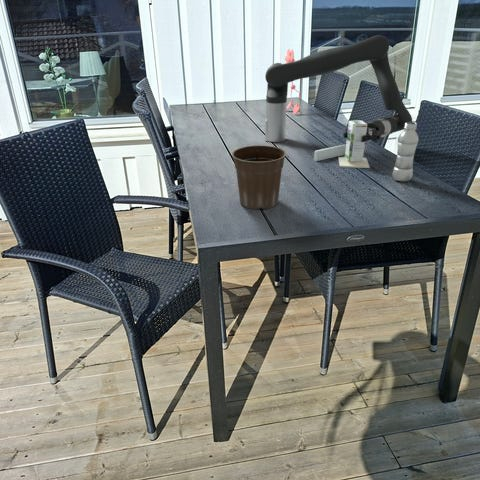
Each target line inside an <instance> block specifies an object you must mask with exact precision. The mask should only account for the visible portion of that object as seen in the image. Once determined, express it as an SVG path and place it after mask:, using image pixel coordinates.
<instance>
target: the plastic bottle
mask: <svg viewBox="0 0 480 480" xmlns="http://www.w3.org/2000/svg"><path fill="white" fill-rule="evenodd" d="M417 126H418V123H417V122H414V121H412V122H406V123H405V126H404V130H402V132H401V133H400V134H399V135H398V137H397V153H396V160H395V164H394V167H393V169H392V177H393V180H395V181H397V182H410V180H411V179H412V178H413V176H414V173H413V172H414V170H413V167H414V159H415V158H414V157H415V154H416V149H417V146H418V143H419V136H418V133H417V132H416V130H417Z"/></svg>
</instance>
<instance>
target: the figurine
mask: <svg viewBox="0 0 480 480" xmlns="http://www.w3.org/2000/svg"><path fill="white" fill-rule="evenodd" d="M294 57H295V56H294V49H293V48H292V49H291V50H290V49H289V48H287V51H286V56H285V57H284V61H285V62H286V63H291V62H295V61H296V60H295V58H294ZM293 82H294V81H292V82H291V85H290V96H292V90H294V91H295V92H297V93H298V98H297V102H296V104H295V105H294V103H293V100H290V102H289V103H288V105H287V106H286V111H287V110H289V108H290V107H291V106H292V107H291V108H290V110H291V109H292V112H293V113H292V114H293V116H295V115H296V114H297V113H298V112H299V114H300V115H302V111H301V109H300V104H299V99H300V96H301V93H300V91H298V90H297V89H296V85H295V84H293ZM286 118H288V116H287V115H286Z"/></svg>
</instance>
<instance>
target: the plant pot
mask: <svg viewBox="0 0 480 480" xmlns="http://www.w3.org/2000/svg"><path fill="white" fill-rule="evenodd" d="M286 156H287V152H286V151H285V150H284V149H283V148H280V147H278V146H277V147H276V146H272V145H271V146H270V145H262V144H261V145H259V144H257V145H248V146H243V147H239V148H236V149H235V150H233V151H232V153H231V157H232V158H233V163H234V168H235V170H236V171H235V172H236V178H237V179H236V181H237V187H238V194H239V195H238V197H239V203H240V205H241V206H243V207H245V208H247V209H249V210H250V209H251V210H260V209H263V210H268V209H270V208H273V207H276V205H278V203H279V195H280V188H281V186H280V185H281V177H282V170H283V168H284V164H285V163H284V162H285V158H286Z"/></svg>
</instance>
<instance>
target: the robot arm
mask: <svg viewBox="0 0 480 480" xmlns="http://www.w3.org/2000/svg"><path fill="white" fill-rule="evenodd" d="M389 50H390V42H389V40H388V39H387V37H386V36H384V35H381V34H377V35H373V36H370V37H369V38H366V39H363V40H361V41H358V42H356V43H351V44H348V45H340V46H337V47H332V48H328V49H327V48H326V49H324V50H321V51H318V52H317V51H316V52H313V53H312V54H308V55H306V56H305V57H303V58H301V59H298V60H295V62H291V63H287V62H286V63H281V62H276V63H273V64H271V65H270V66H269V67H268V68H267V70H266V72H265V80H266V83H267V89H266V97H265V98H266V100H265V111H266V112H265V123H264V124H265V130H264V131H265V133H264V141H265V142H270V143H271V142H272V143H273V142H274V143H276V142H277V143H280V142H284V141H286V129H287V128H286V127H287V117H286V116H287V110H286V107H287V106H288V105H287V103H288V93H289V92H288V91H289V90H288V88H289V83H292V82H294V81H298V80H300V79H307V78H313V77H318V76H322V75H326V74H331V73H333V72H336V71H339V70H342V69H344V68H347V67H349V66H350V65H354V64H357V63H361V62H368V61H369V63H370V65H371V66H372V68H373V71H374V73H375V76H376V80H377V84H378V88H379V91H380V96H381V98H382V102H383V104H384V105H383V107H384V108H385V110H386V111H389V112H390V111H395V112H396V114H394V115H393V114H392V115H391V116H388V117H383V118H378V119H375V120H371V121H367V122H365V123H366V124H367V131H366V135H364V136H362V140H361V142H365V143H366V142H368V141H369V142H378V141H380V140H383V139H384V137H386V136H389V135H392V134H393V133H397V132H400V131H404V130H405V129H404V126H405V123H406V122H413V117H412V114H411V112H409V110H408V108H407V107H406V105H405V104H404V101H403V100H402V96H401V93H400V90H399V87H398V84H397V82H396V79H395V77H394V75H393V72H392V69H391V65H390V62H389V61H390V60H389V55H388V54H389ZM347 133H348V127H347V128H346V129H345V131H344V132H343V135H342V136H343V139H347Z"/></svg>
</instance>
